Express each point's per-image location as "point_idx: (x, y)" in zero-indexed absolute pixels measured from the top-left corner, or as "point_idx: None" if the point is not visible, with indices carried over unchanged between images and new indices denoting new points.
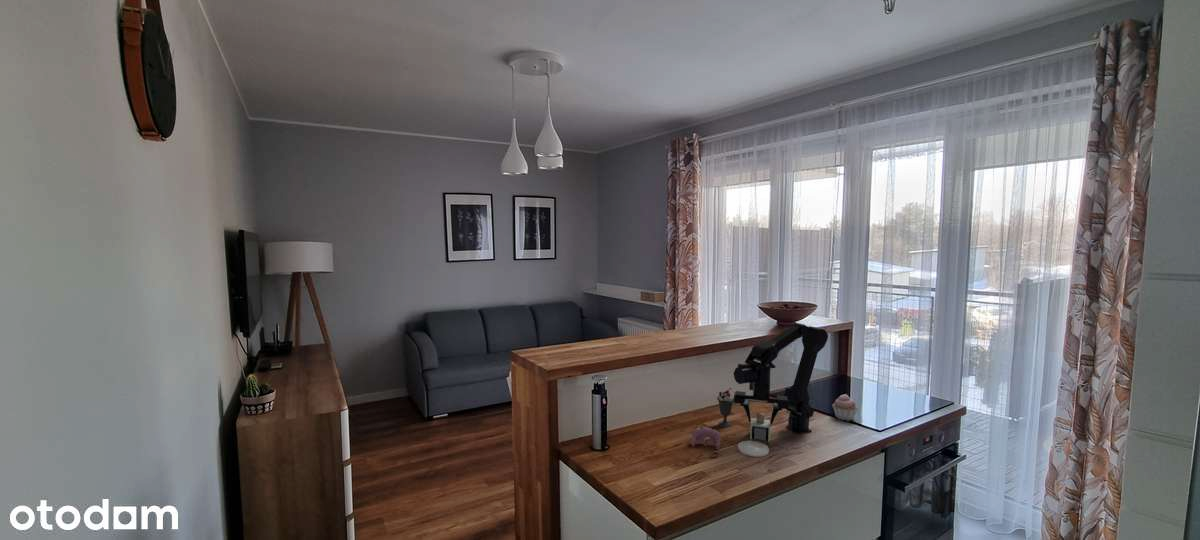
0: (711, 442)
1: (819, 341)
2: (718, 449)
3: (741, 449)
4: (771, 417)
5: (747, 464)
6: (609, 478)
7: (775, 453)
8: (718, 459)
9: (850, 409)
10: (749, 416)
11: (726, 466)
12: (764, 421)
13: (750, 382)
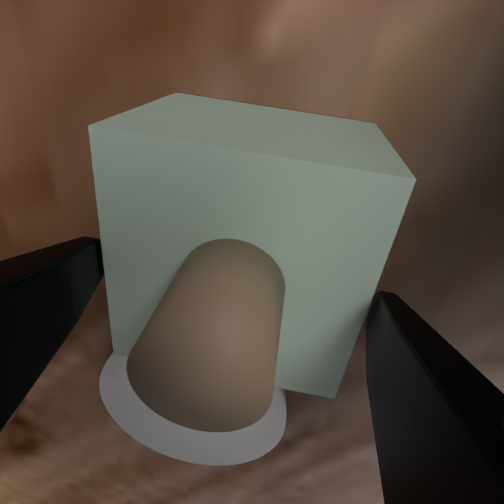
0: None
1: None
2: (18, 409)
3: (126, 431)
4: (380, 469)
5: (169, 491)
6: None
7: (324, 420)
8: (49, 461)
9: None
10: (39, 358)
11: (92, 497)
12: (296, 252)
13: None
